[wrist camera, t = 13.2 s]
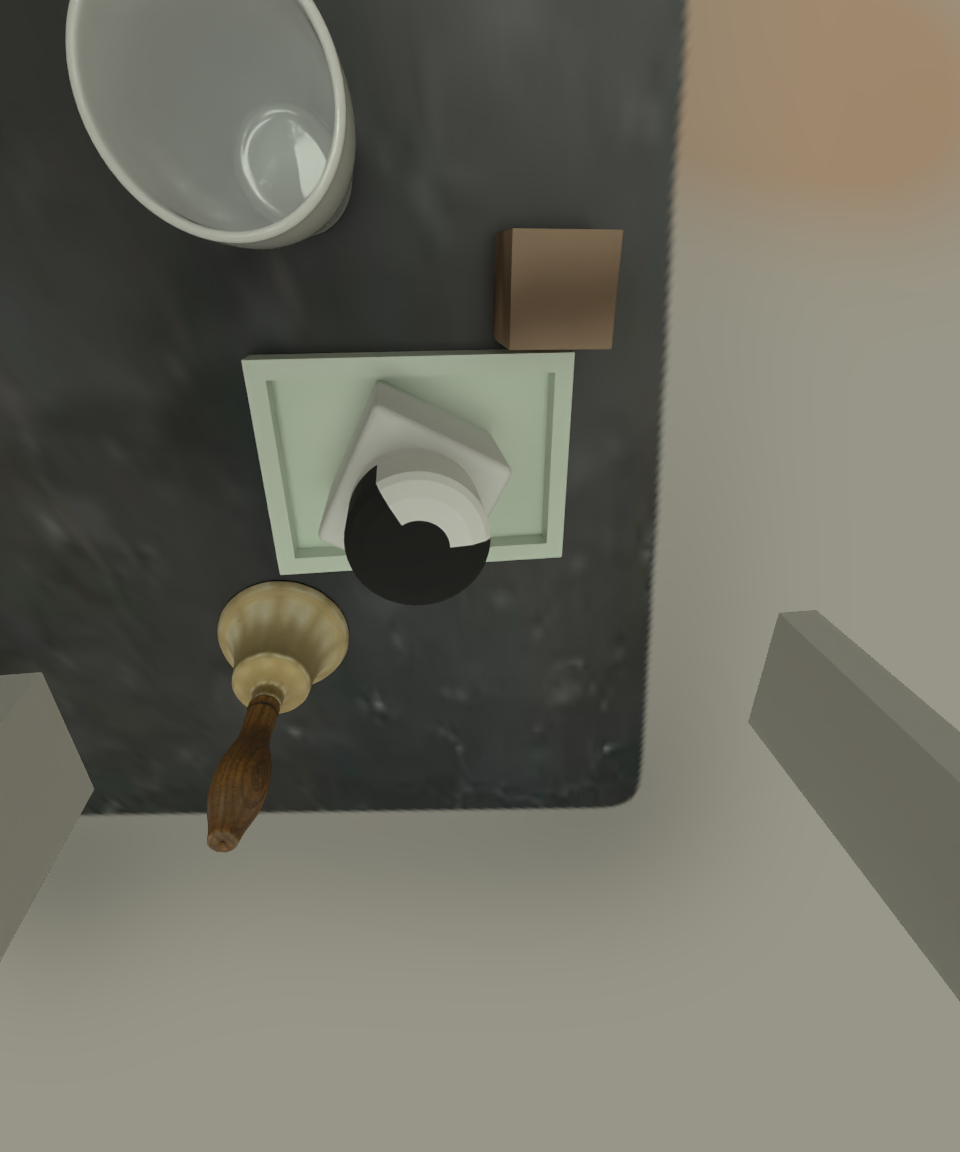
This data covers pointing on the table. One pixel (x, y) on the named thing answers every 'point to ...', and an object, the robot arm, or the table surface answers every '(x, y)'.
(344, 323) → the table surface
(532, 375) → the tray
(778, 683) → the robot arm
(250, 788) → the hand bell
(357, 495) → the medicine bottle
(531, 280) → the walnut block
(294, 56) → the drinking glass
